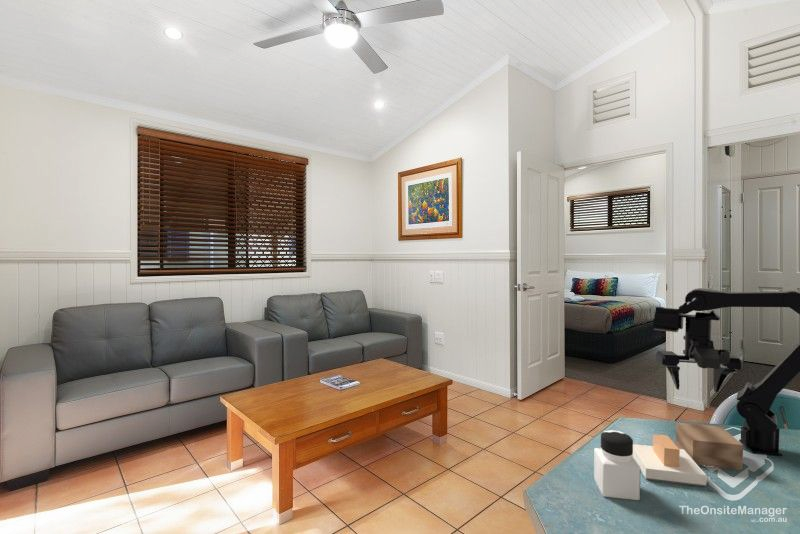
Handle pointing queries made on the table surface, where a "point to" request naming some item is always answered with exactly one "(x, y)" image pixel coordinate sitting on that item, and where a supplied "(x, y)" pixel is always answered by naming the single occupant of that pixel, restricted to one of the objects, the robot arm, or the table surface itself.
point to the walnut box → (710, 445)
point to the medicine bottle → (617, 466)
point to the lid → (667, 462)
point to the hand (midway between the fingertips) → (696, 390)
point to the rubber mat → (675, 482)
